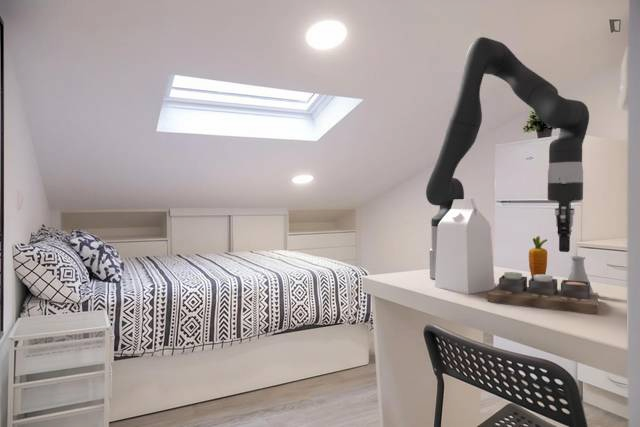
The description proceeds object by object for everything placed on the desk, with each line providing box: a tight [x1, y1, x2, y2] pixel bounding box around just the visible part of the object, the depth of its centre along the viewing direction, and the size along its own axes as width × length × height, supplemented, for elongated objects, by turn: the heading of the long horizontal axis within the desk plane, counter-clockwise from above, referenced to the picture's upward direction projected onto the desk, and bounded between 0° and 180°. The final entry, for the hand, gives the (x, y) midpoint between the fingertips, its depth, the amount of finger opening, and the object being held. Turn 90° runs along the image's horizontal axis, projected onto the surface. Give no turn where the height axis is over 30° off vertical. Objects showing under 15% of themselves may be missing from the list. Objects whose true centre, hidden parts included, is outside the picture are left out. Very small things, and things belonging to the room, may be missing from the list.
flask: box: [567, 255, 595, 293], centre depth 110 cm, size 7×7×10 cm
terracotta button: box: [566, 282, 586, 285], centre depth 100 cm, size 4×4×2 cm
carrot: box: [528, 235, 548, 278], centre depth 119 cm, size 5×5×15 cm
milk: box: [434, 198, 496, 295], centre depth 120 cm, size 12×12×26 cm
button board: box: [486, 274, 599, 315], centre depth 103 cm, size 23×14×5 cm, turn 55°
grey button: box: [534, 274, 554, 283], centre depth 104 cm, size 4×4×2 cm
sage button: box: [503, 271, 523, 280], centre depth 108 cm, size 4×4×2 cm
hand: (564, 251), depth 102 cm, fingers closed
